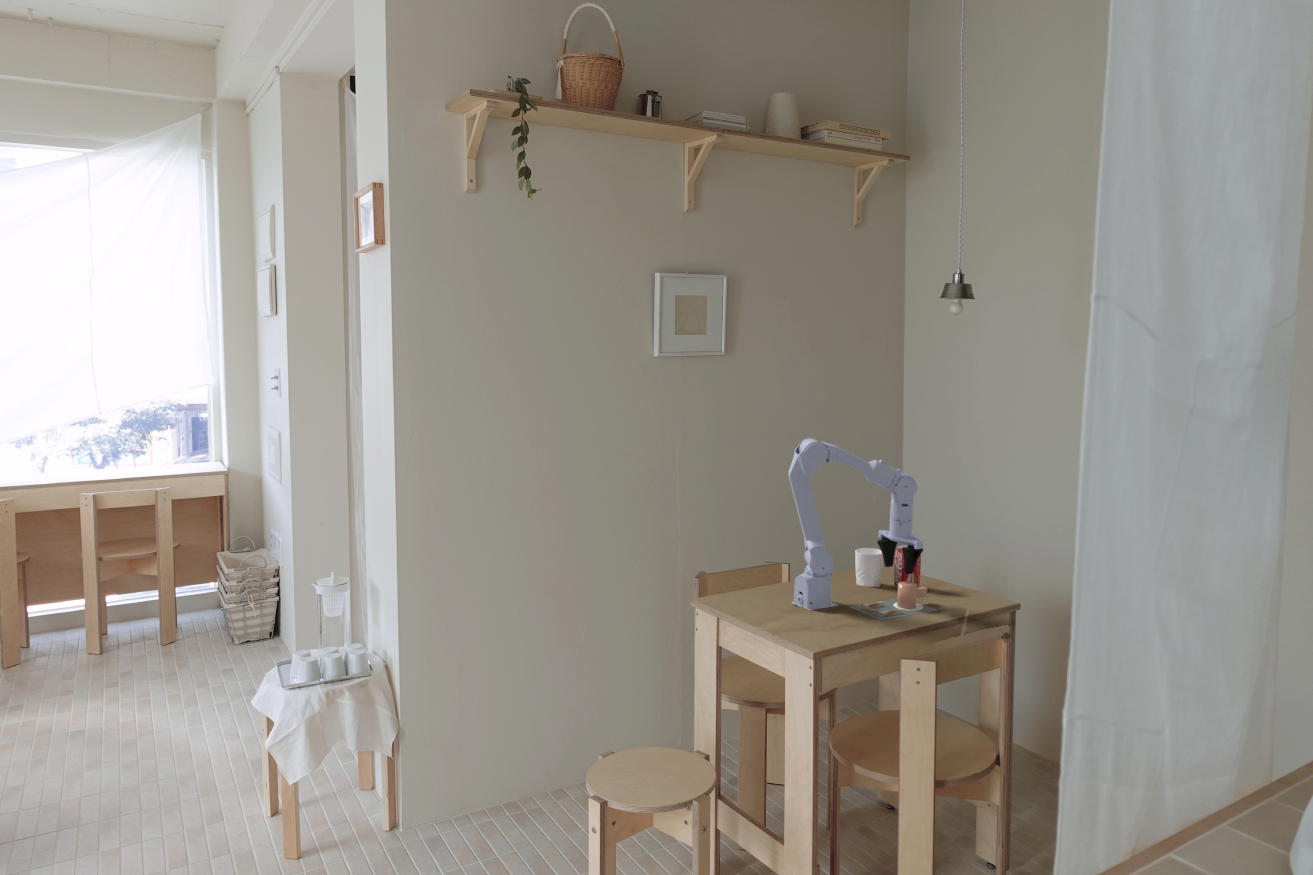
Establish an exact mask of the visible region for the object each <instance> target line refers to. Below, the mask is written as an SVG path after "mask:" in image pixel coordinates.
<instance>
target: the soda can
mask: <svg viewBox="0 0 1313 875" xmlns="http://www.w3.org/2000/svg"><path fill="white" fill-rule="evenodd" d="M897 545H898V544H897ZM903 547H908V546H907V545H904V544H899V545H898V546H897V549H895V553H894V568H893V569H894V572H893V574H894V576H893V581H894V586H895V587H896V588H898V583H899V582H913V583H916V584H917V588H919V587H920V584H921V583H920V581H921V566H922V565H921V564H922V553H921V554H920V556H919V558H918V560H917V562H916V564H915V567H914V570H913V574H905V570H904V556H903V552H902V548H903Z"/></svg>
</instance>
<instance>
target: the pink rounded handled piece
mask: <svg viewBox="0 0 1313 875" xmlns="http://www.w3.org/2000/svg"><path fill="white" fill-rule="evenodd" d="M927 596H928V587H925V586H919V587H918V588H917V584H916V583H913V582H899V583H898V587H897V598H896V599H897V606H898V607H899V608H903V609H915V608H916V602H917V599H920V598H925V597H927Z"/></svg>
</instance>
